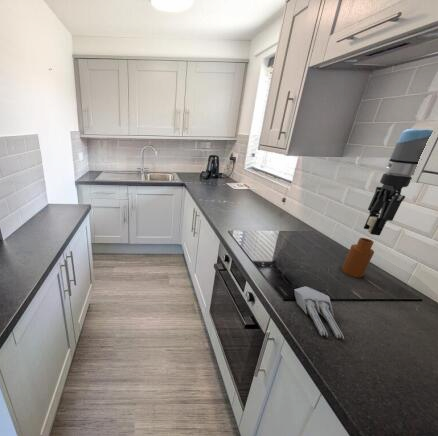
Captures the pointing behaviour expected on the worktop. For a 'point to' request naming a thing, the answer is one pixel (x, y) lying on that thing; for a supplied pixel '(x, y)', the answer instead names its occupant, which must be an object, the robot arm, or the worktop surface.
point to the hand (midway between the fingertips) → (371, 231)
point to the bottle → (358, 258)
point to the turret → (317, 309)
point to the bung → (371, 223)
